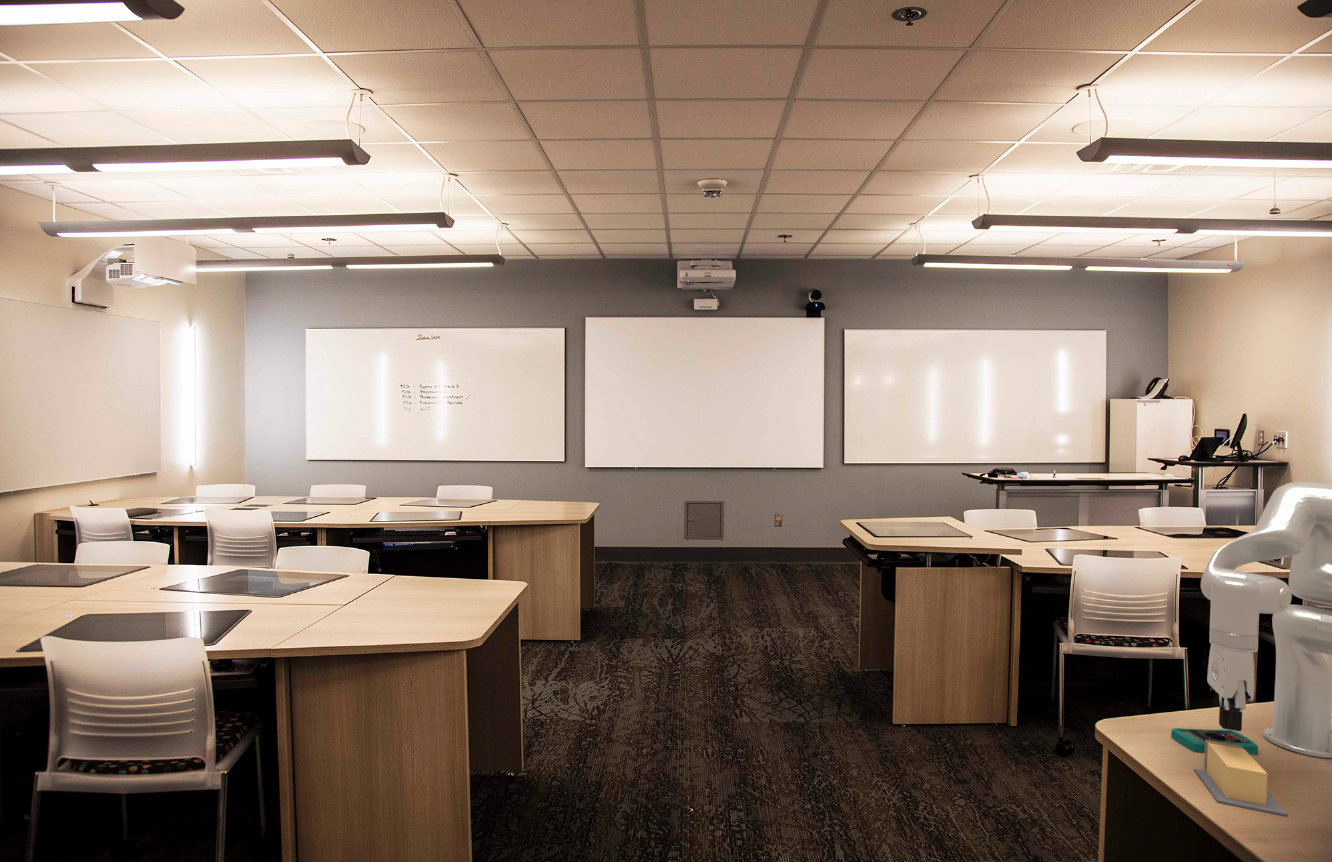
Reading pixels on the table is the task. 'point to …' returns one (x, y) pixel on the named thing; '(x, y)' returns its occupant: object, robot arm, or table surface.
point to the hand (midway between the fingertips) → (1230, 727)
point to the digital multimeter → (1211, 739)
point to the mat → (1221, 798)
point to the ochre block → (1235, 772)
